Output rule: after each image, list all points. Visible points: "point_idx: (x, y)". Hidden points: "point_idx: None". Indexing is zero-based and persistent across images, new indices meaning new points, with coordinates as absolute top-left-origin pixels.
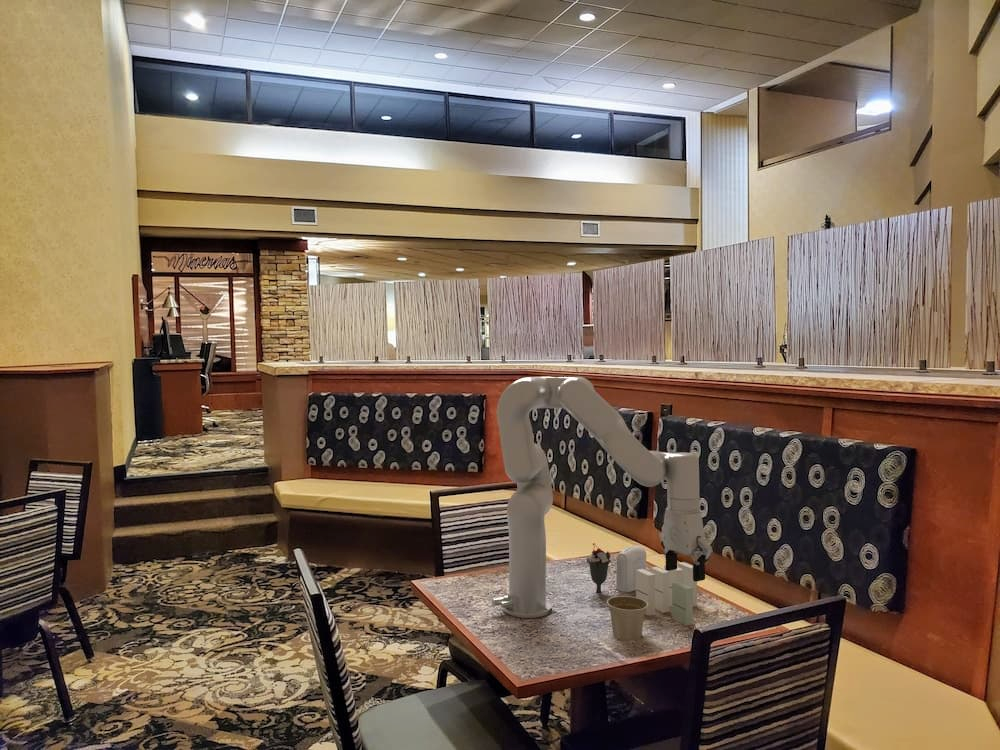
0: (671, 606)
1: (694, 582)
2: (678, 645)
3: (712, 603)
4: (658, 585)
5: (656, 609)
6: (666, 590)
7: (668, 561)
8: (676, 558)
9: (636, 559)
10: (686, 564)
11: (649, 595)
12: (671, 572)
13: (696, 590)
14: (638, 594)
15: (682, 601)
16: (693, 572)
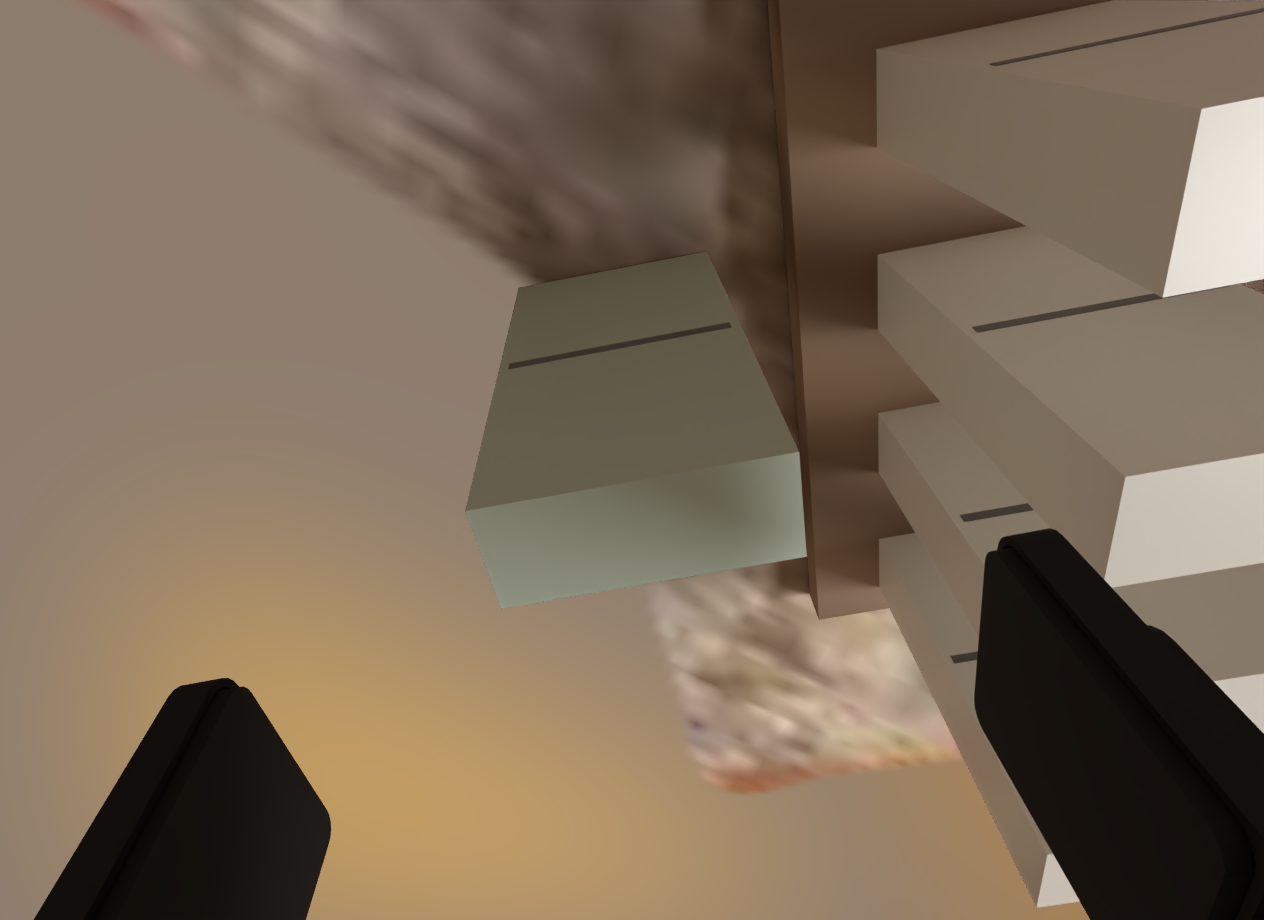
0: None
1: (962, 729)
2: (172, 18)
3: (926, 697)
4: (1100, 342)
5: (980, 234)
6: (970, 393)
7: (1104, 708)
8: (1091, 901)
9: None
10: None
11: (979, 86)
12: (1171, 632)
13: (927, 680)
14: (1199, 12)
15: (558, 392)
16: (118, 831)
